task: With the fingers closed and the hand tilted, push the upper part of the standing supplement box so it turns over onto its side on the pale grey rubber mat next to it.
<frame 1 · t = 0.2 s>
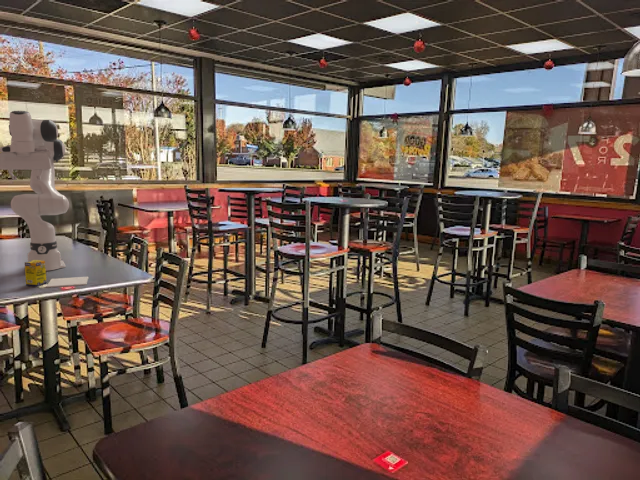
hand: (26, 179, 210), 48 cm above the table, tool pointing down, fingers open, 8 cm apart
supplement box: (36, 285, 216), on the table
mat: (68, 282, 221), on the table
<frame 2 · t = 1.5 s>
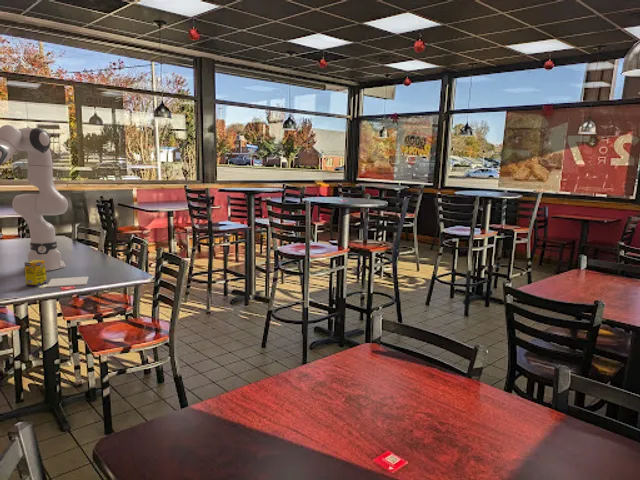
hand: (1, 237, 207), 23 cm above the table, tool tilted 40°, fingers open, 8 cm apart
nothing on the table moved.
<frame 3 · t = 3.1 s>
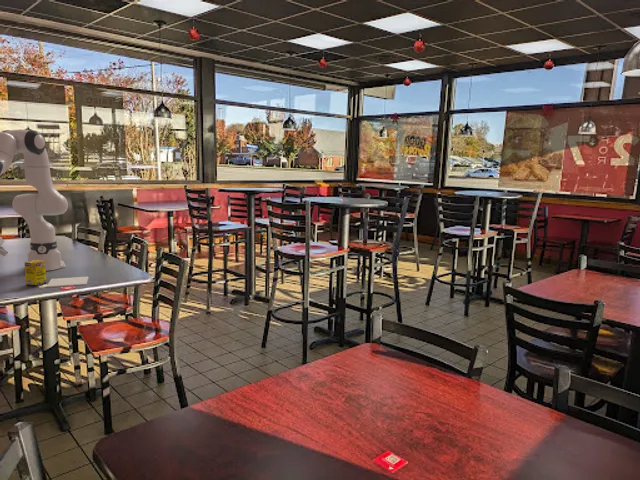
hand: (6, 254, 209), 15 cm above the table, tool tilted 45°, fingers closed
nothing on the table moved.
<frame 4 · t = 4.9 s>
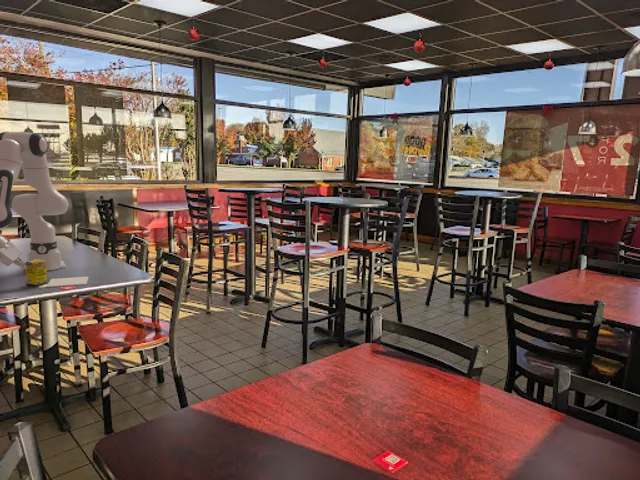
hand: (24, 266, 213), 9 cm above the table, tool tilted 45°, fingers closed
supplement box: (36, 284, 216), on the table, touching gripper
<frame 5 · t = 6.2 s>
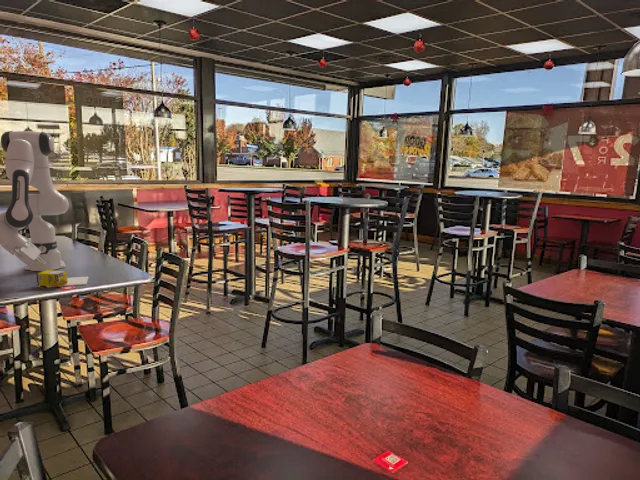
hand: (44, 265, 216), 9 cm above the table, tool tilted 45°, fingers closed
supplement box: (40, 277, 215), point 3 cm above the table, touching mat
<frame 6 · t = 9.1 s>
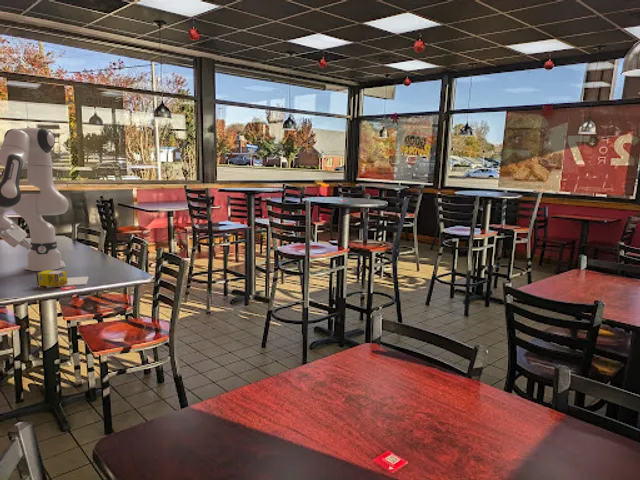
hand: (30, 248, 213), 17 cm above the table, tool tilted 45°, fingers closed
nothing on the table moved.
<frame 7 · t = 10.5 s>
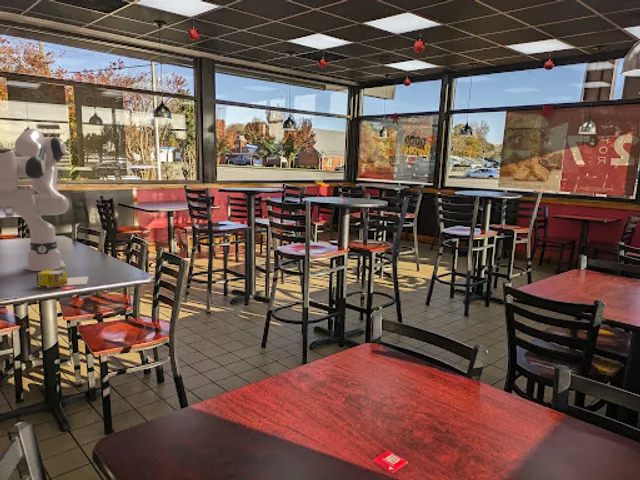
hand: (9, 216, 211), 31 cm above the table, tool pointing down, fingers closed
nothing on the table moved.
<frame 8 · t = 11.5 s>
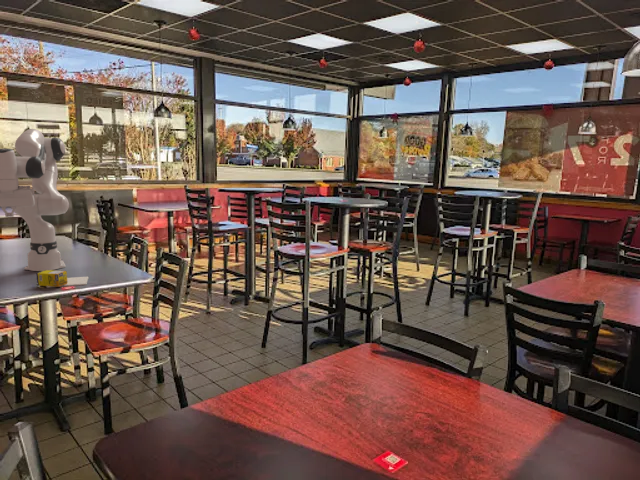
hand: (9, 216, 211), 31 cm above the table, tool pointing down, fingers closed
nothing on the table moved.
at the end: supplement box tilted 89°; supplement box inside the target area (11.9 cm from its centre), point 3.4 cm above the table; the gripper is holding nothing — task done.
